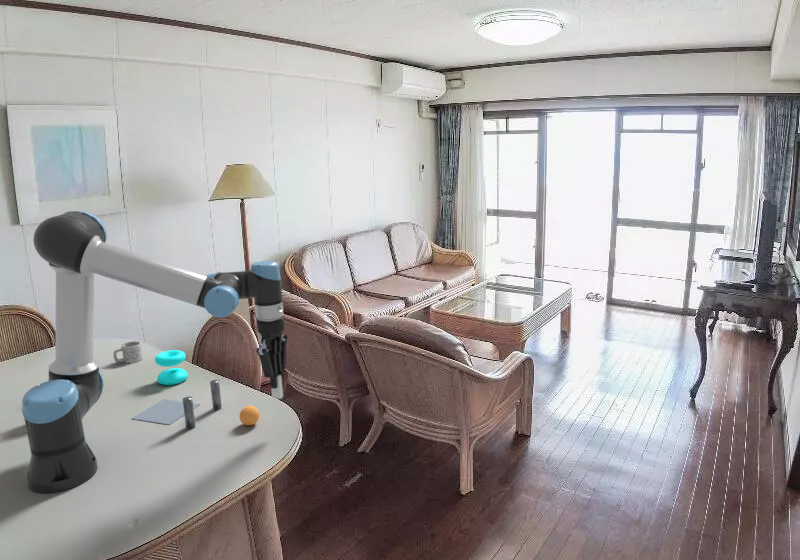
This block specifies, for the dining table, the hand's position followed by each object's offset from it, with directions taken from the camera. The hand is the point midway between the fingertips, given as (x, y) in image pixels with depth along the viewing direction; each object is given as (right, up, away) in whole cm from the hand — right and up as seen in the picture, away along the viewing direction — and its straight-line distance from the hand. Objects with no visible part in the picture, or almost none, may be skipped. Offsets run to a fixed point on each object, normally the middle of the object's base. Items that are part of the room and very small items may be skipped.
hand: (277, 397), depth 163 cm
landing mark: (-38, -8, +15) cm, 41 cm away
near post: (-26, -10, +4) cm, 28 cm away
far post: (-22, -7, +16) cm, 28 cm away
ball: (-9, -6, +5) cm, 12 cm away
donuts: (-45, -2, +39) cm, 59 cm away
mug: (-70, +2, +59) cm, 91 cm away
